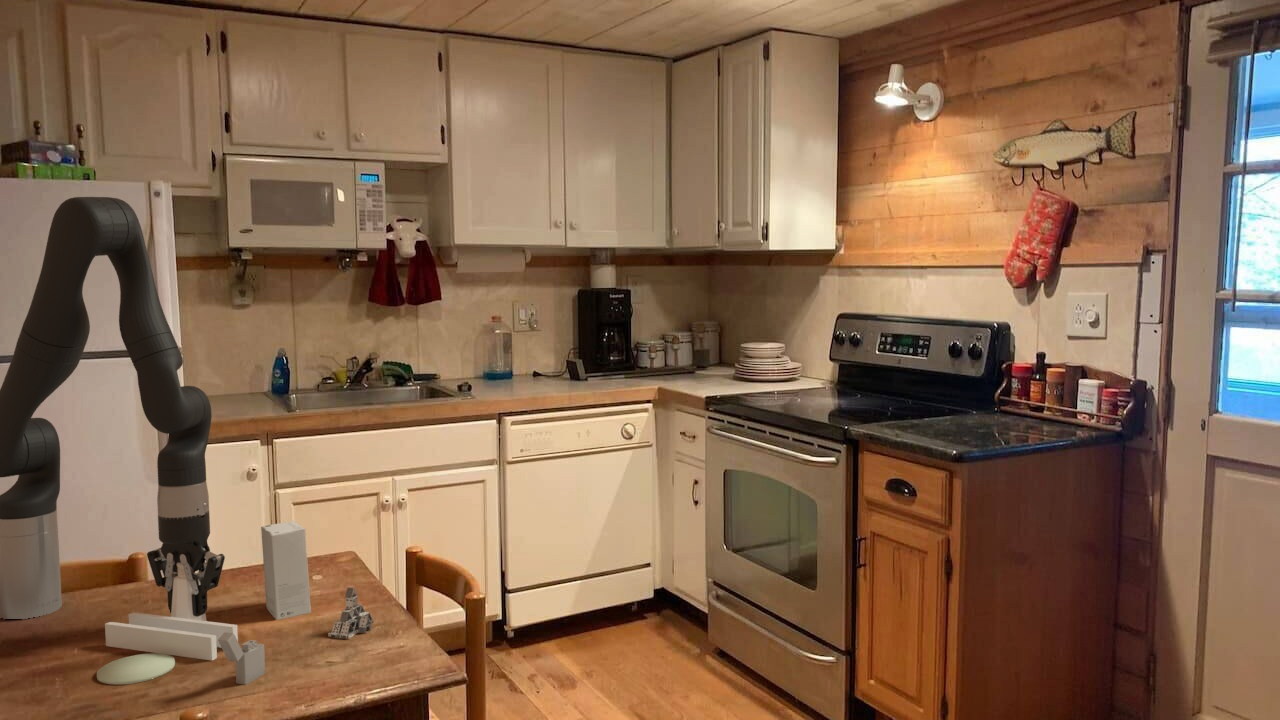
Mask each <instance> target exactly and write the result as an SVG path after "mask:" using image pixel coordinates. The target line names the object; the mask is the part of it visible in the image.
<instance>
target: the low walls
mask: <svg viewBox="0 0 1280 720" xmlns="http://www.w3.org/2000/svg"><path fill="white" fill-rule="evenodd" d="M104 629H105V630H104V633H105V647H111V648H118V649H124V650H132V651H133V650H134V651H141V652H147V653H159V654H167V655H170V656H174V657H175V656H176V657H177V656H178V657H182V658H183V657H184V658H189V659H198V660H205V661H214V660H217V658H218V652H217V651H218V649H217V648H220V649H222V647H221V645H220V643H219V641H218V639H219V638H220V637H221V636H222V635H223V634H224V633H225V632H227V633H233V634H234V635H235V637H236V639H237V641H238V642H239V636H238V635H239V634H238V624H233V623H231V624H230V623H225V622H218V621H217V622H215V621H208V620H207V621H201V620H193V619H185V618H177V617H171V616H168V615H159V614H151V613H143V612H136V611H135V612H134V611H133V612H131V613H128V623H122V622H115V621H109V622H106V623H104Z"/></svg>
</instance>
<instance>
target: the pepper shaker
mask: <svg viewBox="0 0 1280 720" xmlns="http://www.w3.org/2000/svg"><path fill="white" fill-rule="evenodd" d="M177 567H178V573H177V574H178V575H177V576H176V577H174V582H173V595H172V609H171V613H170V617H177V618H185V619H193V620H201V621H208V620H207V615H206V612H205V613H204V614H203V615H200V616H198V617H197V616H194V615H193V611H192V594H193V592H192V588H191V585H190V582H189V581H187V579H186V575H185V571H184V567H183V565H182V564H181V563H177ZM194 574H196V571H195V572H194ZM198 583H199V585H200V581H199V578H198Z"/></svg>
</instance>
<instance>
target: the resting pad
mask: <svg viewBox="0 0 1280 720" xmlns="http://www.w3.org/2000/svg"><path fill="white" fill-rule="evenodd" d="M175 665H176V660H175V658H174V656H173V655H168V654H160V653H153V652H149V653H140V654H135V655H130V656H125V657H121V658H119V659H115V660H113V661H110V662H108V663H106V664H104V665H103V666H101V667H100V668H99V669H98V670H97V672H96V679H97V681H98V682H100V683H102V684H107V685H113V686H115V685H117V686H119V685H121V686H122V685H131V684H132V685H133V684H138V683H143V682H146V681H151V680H153V679H157V678H160V677H162V676H164V675H165V674H167V673H169V672H170V671H172V670H173V669H174V667H175Z"/></svg>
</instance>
